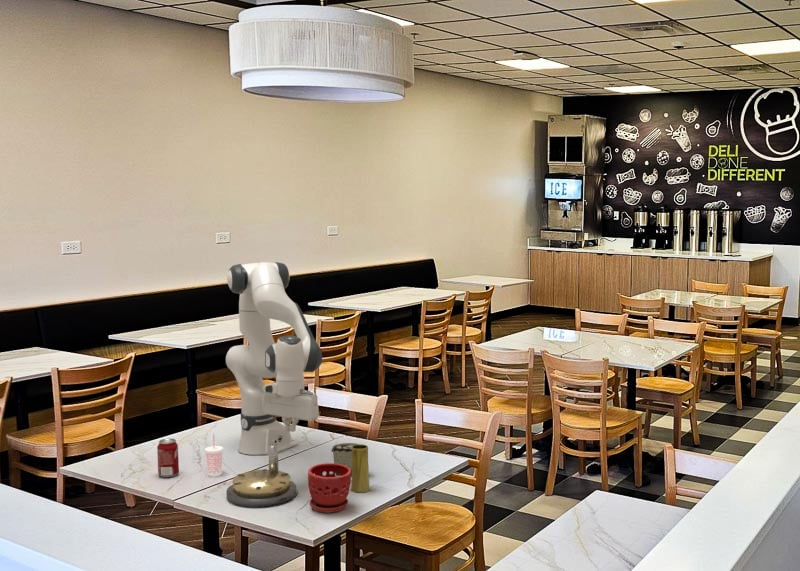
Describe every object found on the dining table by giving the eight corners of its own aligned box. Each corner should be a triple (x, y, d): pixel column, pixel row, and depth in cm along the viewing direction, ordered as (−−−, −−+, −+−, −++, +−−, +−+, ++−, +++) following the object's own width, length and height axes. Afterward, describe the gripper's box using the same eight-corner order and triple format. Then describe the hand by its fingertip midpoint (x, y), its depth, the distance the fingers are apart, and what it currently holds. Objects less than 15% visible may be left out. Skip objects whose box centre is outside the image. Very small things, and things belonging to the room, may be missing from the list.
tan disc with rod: (268, 501, 251) (267, 463, 249) (220, 492, 259) (219, 455, 258) (301, 483, 267) (300, 447, 265) (256, 475, 275) (255, 440, 274)
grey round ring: (267, 478, 279) (267, 471, 278) (311, 493, 264) (311, 486, 264) (212, 496, 262) (212, 489, 262) (255, 513, 248) (255, 506, 247)
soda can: (173, 479, 279) (172, 444, 277) (154, 477, 280) (153, 443, 279) (182, 472, 285) (181, 438, 284) (164, 471, 286) (163, 437, 285)
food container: (372, 472, 284) (371, 444, 283) (365, 478, 278) (365, 449, 277) (338, 469, 288) (338, 441, 287) (331, 474, 282) (331, 446, 281)
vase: (362, 494, 263) (362, 450, 262) (347, 490, 266) (346, 447, 265) (373, 488, 268) (373, 445, 267) (357, 485, 272) (357, 442, 270)
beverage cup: (202, 476, 281) (200, 435, 280) (212, 470, 287) (210, 430, 286) (217, 478, 279) (216, 437, 278) (227, 472, 285) (226, 432, 284)
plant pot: (306, 516, 246) (305, 476, 244) (310, 499, 259) (310, 462, 257) (350, 515, 246) (349, 476, 244) (352, 499, 259) (352, 462, 257)
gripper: (322, 389, 259) (323, 433, 261) (271, 382, 270) (271, 424, 271) (310, 393, 254) (310, 437, 255) (258, 386, 264) (259, 428, 266)
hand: (290, 430), depth 263 cm, fingers closed
